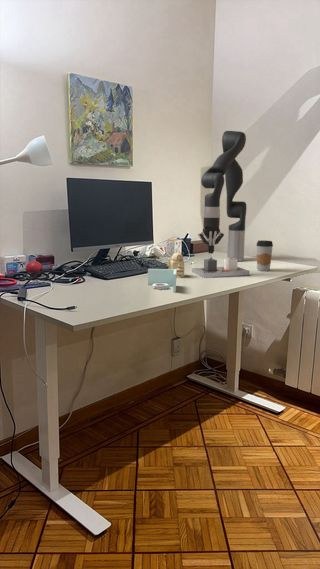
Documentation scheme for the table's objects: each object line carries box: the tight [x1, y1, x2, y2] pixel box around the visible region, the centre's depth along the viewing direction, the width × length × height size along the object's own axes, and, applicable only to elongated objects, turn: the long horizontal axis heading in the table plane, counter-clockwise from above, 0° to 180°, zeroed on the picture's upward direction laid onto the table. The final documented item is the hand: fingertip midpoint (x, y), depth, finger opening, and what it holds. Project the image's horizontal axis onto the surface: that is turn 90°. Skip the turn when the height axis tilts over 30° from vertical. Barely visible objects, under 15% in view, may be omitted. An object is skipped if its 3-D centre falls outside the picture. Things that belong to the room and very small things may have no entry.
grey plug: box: [203, 256, 218, 272], centre depth 222 cm, size 5×5×8 cm
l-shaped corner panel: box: [147, 268, 177, 293], centre depth 190 cm, size 12×12×8 cm
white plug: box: [223, 256, 238, 270], centre depth 226 cm, size 5×5×8 cm
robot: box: [166, 245, 188, 279], centre depth 214 cm, size 10×8×15 cm
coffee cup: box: [256, 239, 274, 272], centre depth 237 cm, size 8×8×15 cm
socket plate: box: [191, 266, 250, 279], centre depth 224 cm, size 14×24×3 cm, turn 109°
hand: (210, 253), depth 221 cm, fingers closed
